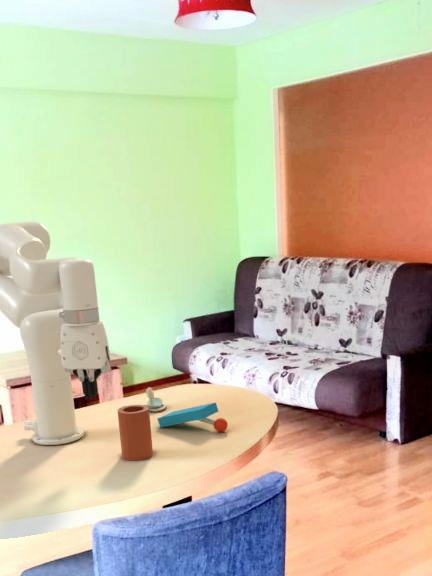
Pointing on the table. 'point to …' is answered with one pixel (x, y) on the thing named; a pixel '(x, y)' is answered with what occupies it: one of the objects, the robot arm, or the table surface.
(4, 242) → the robot arm
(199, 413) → the lever
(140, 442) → the jar
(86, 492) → the table surface
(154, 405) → the pacifier
